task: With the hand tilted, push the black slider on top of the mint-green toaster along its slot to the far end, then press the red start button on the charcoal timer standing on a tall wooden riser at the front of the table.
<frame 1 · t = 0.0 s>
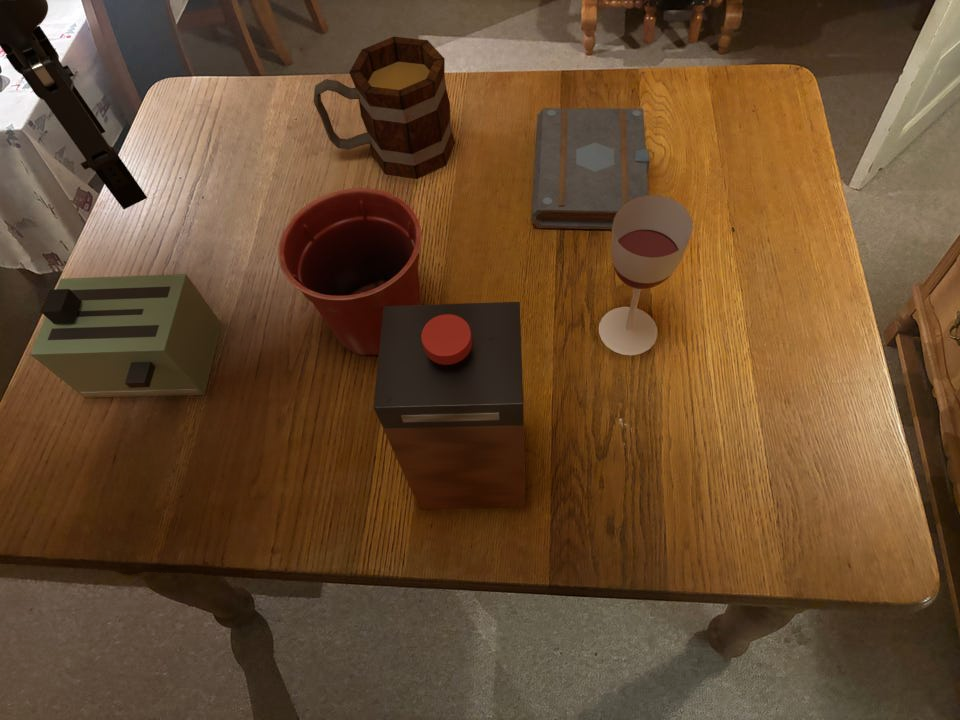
hand: (113, 167, 74), 23 cm above the table, tool pointing down, fingers open, 13 cm apart
wineglass: (627, 331, 86), on the table
timer stand: (472, 466, 77), on the table
book: (589, 178, 100), on the table
toaster: (155, 359, 88), on the table
mug: (394, 152, 105), on the table
flower pot: (377, 319, 89), on the table
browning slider: (61, 306, 77), point 13 cm above the table, slide at 0.0 cm
timer button: (446, 339, 53), point 28 cm above the table, slide at 0.2 cm
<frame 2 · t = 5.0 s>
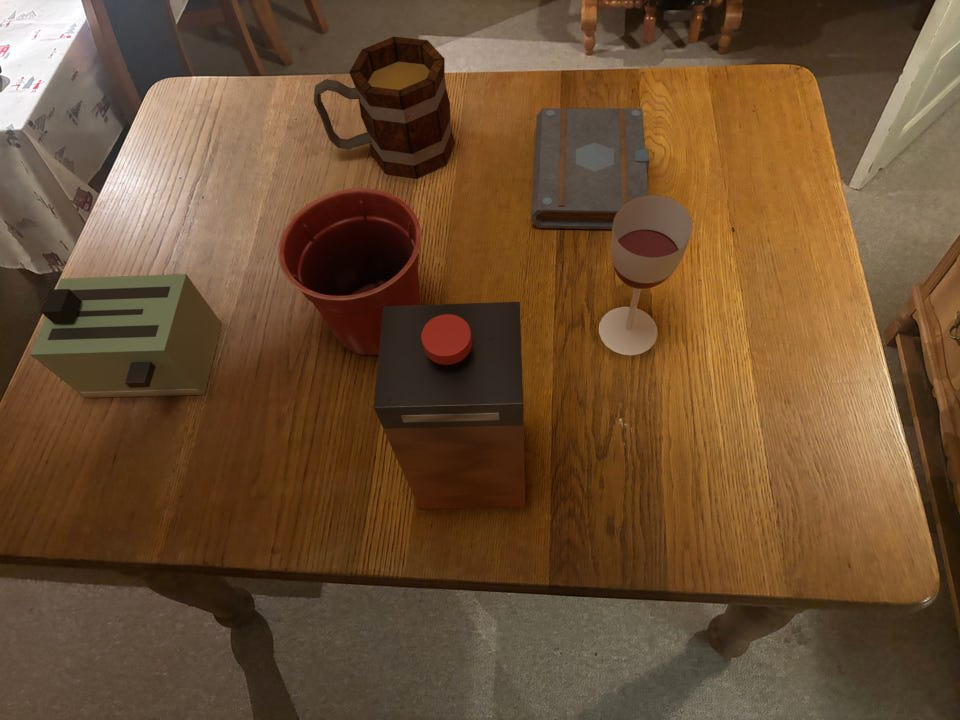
nothing on the table moved.
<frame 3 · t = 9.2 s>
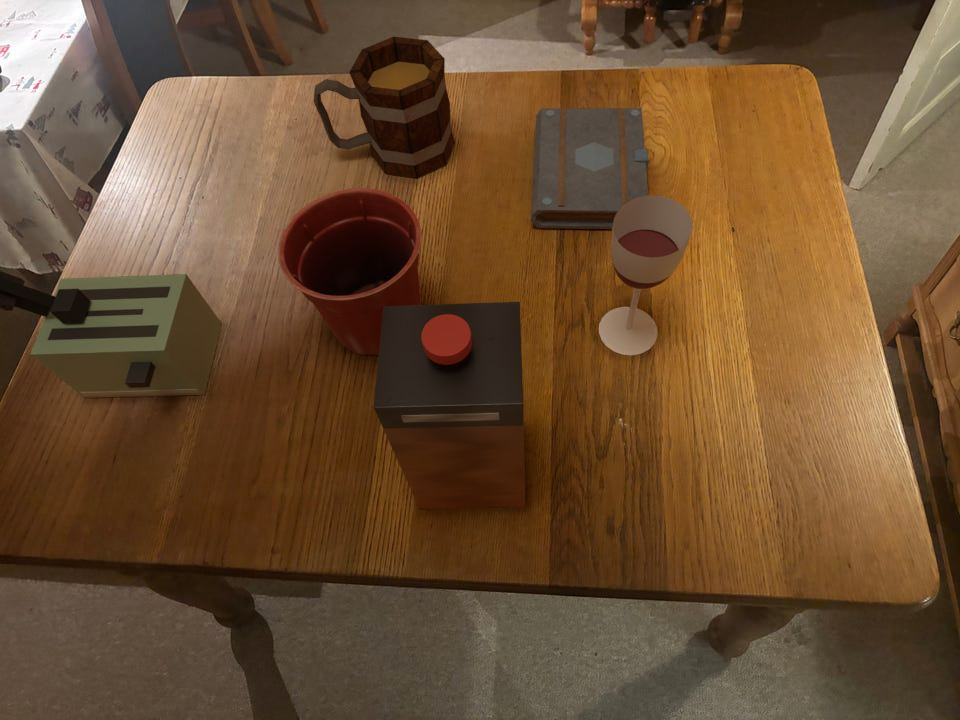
hand: (51, 307, 78), 13 cm above the table, tool tilted 45°, fingers closed
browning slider: (70, 306, 77), point 13 cm above the table, slide at 1.1 cm, touching gripper
everything else where it was.
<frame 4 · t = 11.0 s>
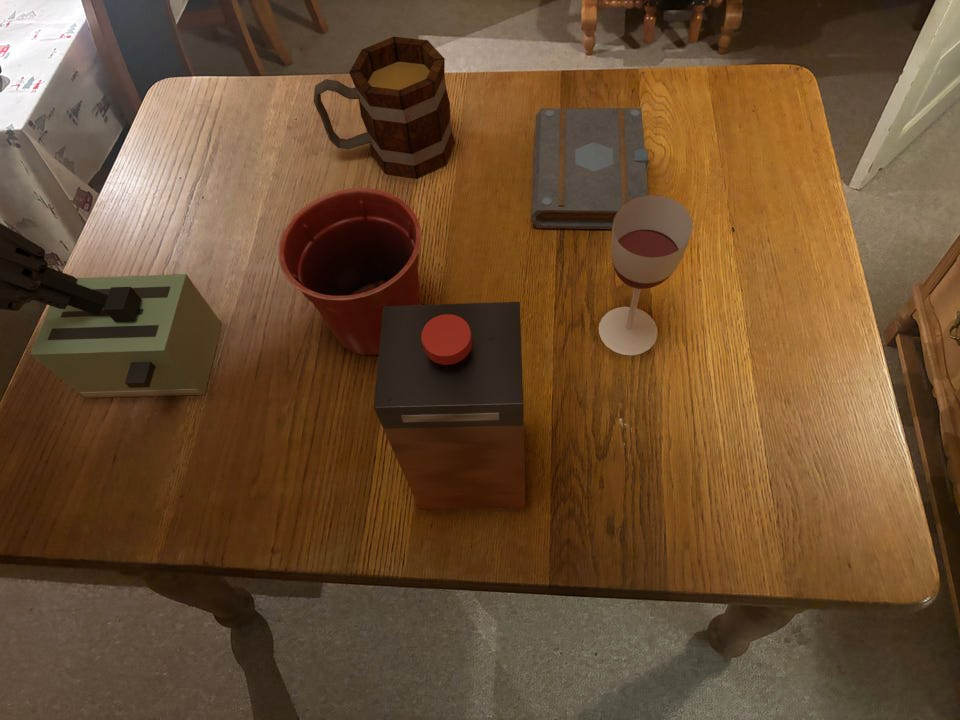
hand: (103, 305, 77), 13 cm above the table, tool tilted 45°, fingers closed
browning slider: (122, 304, 77), point 13 cm above the table, slide at 7.4 cm, touching gripper
everything else where it was.
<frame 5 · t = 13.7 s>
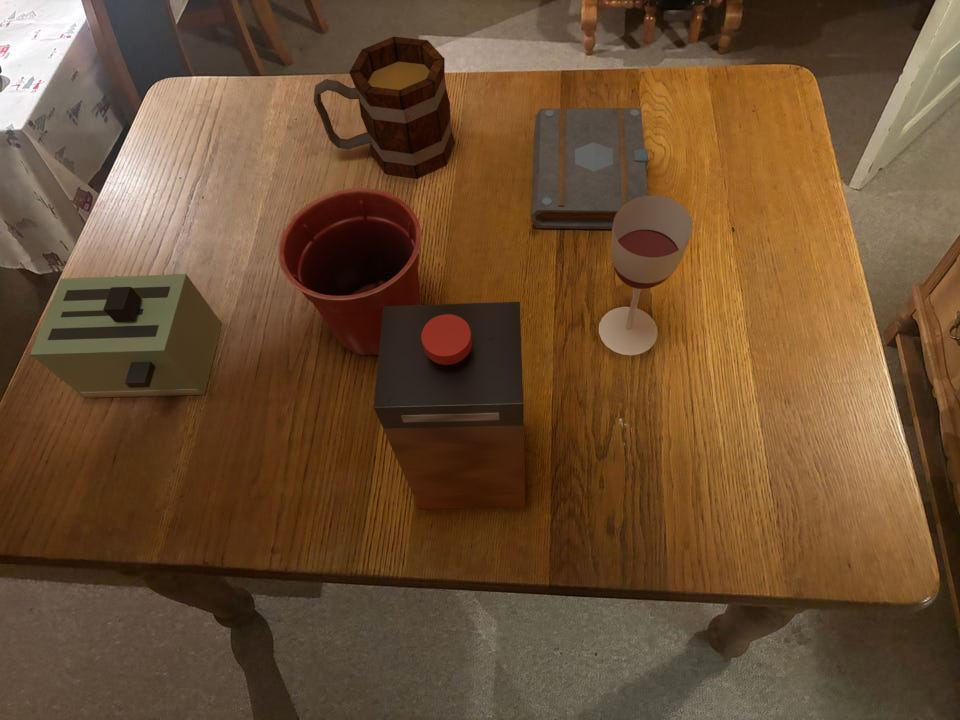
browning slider: (123, 304, 77), point 13 cm above the table, slide at 7.4 cm
everything else where it was.
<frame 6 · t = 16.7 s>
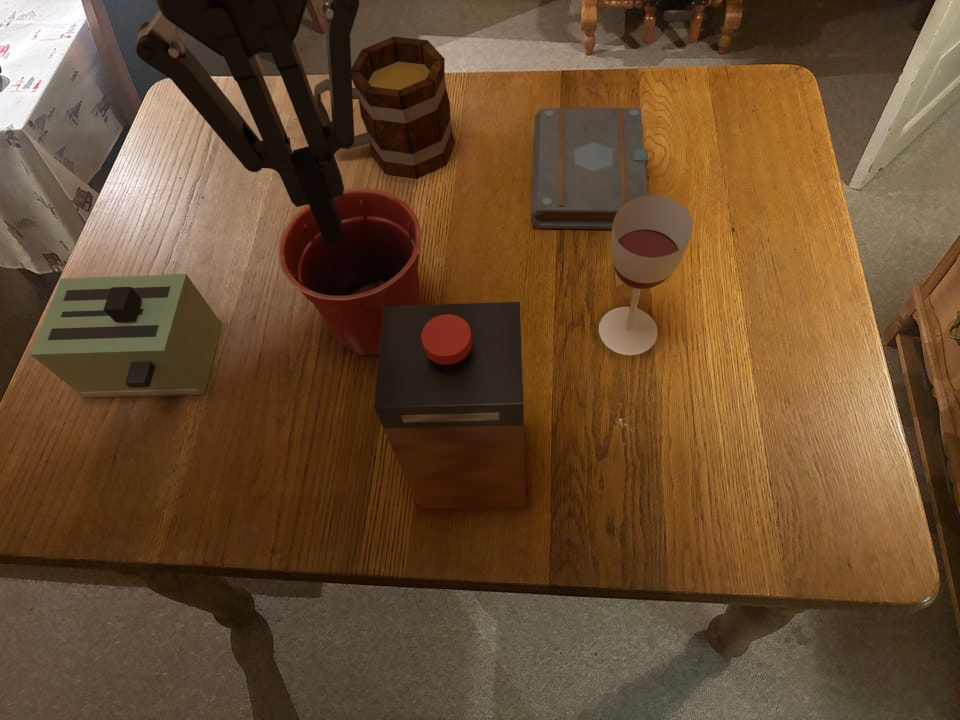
hand: (333, 230, 50), 35 cm above the table, tool pointing down, fingers closed
nothing on the table moved.
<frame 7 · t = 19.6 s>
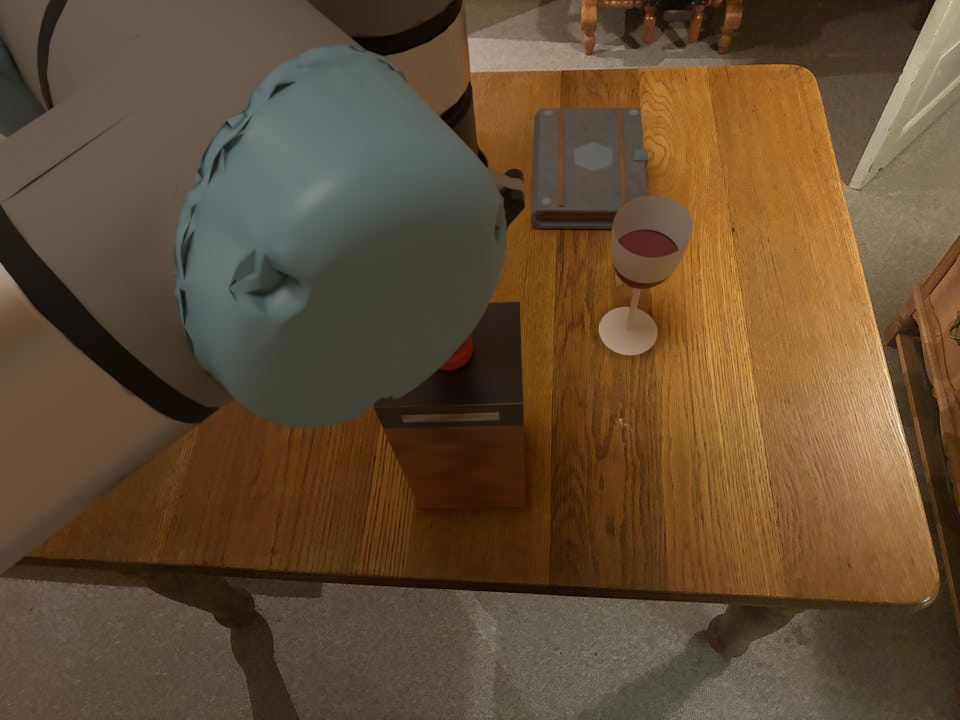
hand: (447, 338, 53), 28 cm above the table, tool pointing down, fingers closed
timer button: (448, 345, 54), point 27 cm above the table, slide at -0.7 cm, touching gripper
everything else where it was.
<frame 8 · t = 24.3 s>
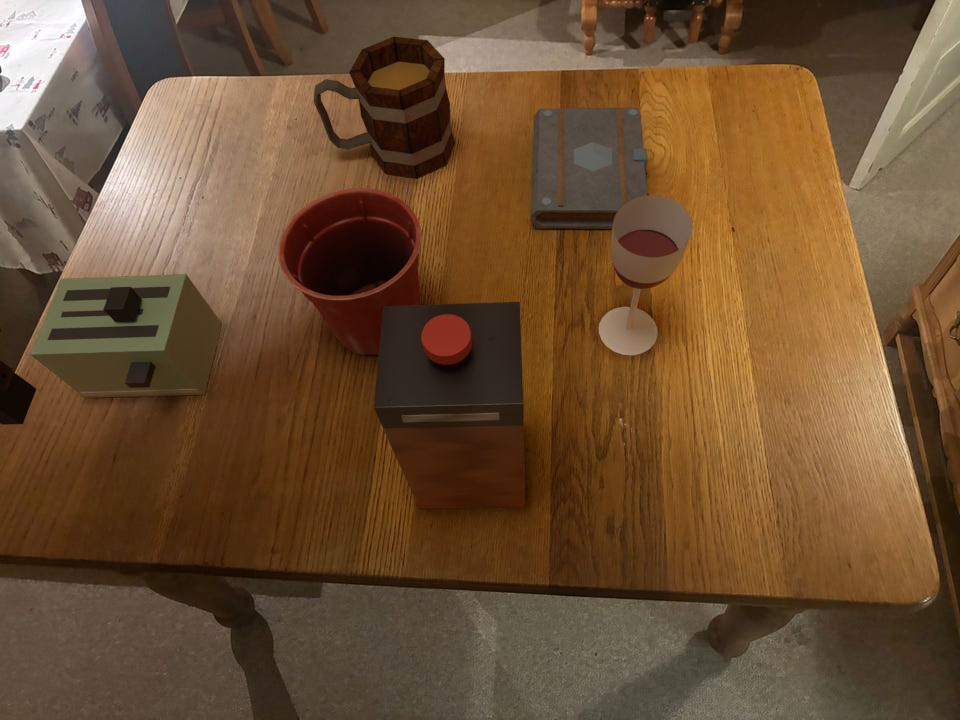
hand: (19, 406, 45), 34 cm above the table, tool pointing down, fingers closed
timer button: (446, 339, 53), point 28 cm above the table, slide at 0.2 cm
everything else where it was.
at the end: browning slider slide at 7.4 cm; timer button pushed in 0.9 cm at the most during the clip, back to 0.2 cm at the end; timer button slide at 0.2 cm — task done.
